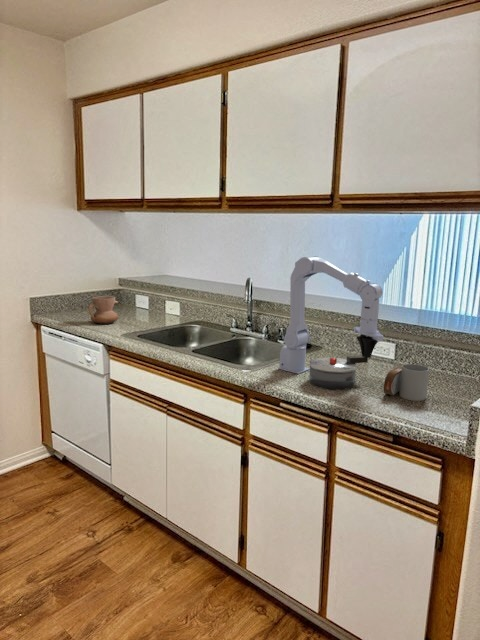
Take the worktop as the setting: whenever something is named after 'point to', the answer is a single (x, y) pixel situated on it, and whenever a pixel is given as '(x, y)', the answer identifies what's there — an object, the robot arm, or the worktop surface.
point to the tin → (393, 381)
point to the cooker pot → (332, 379)
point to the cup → (414, 382)
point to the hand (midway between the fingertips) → (366, 357)
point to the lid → (337, 364)
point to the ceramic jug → (103, 310)
